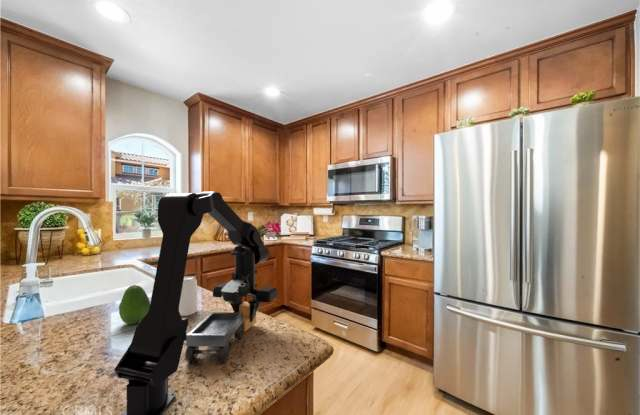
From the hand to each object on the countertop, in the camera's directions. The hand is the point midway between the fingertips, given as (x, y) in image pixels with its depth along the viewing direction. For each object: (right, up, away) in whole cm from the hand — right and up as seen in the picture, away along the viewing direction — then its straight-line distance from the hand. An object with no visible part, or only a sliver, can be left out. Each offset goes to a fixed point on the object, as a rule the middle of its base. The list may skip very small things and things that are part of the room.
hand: (245, 320), depth 77 cm
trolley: (-4, -3, -10) cm, 12 cm away
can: (-24, -3, +12) cm, 27 cm away
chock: (0, -2, 0) cm, 2 cm away
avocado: (-36, -3, +4) cm, 36 cm away
